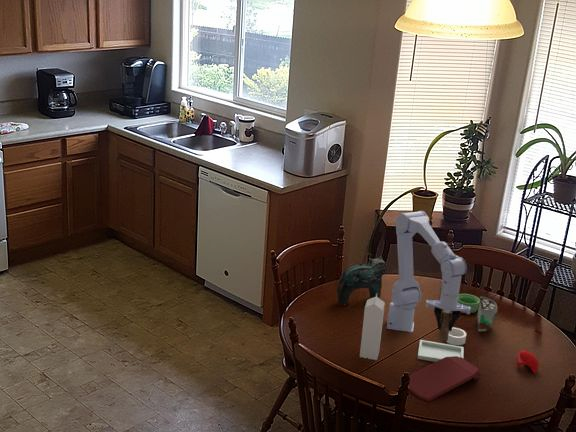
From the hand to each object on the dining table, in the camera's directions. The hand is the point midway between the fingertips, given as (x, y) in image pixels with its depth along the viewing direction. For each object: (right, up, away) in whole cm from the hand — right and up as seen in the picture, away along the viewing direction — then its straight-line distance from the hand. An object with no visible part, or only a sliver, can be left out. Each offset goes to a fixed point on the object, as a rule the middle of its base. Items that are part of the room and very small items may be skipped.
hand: (444, 328), depth 238 cm
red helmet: (+27, -13, -1) cm, 30 cm away
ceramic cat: (-25, +4, +39) cm, 46 cm away
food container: (+21, -4, +25) cm, 32 cm away
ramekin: (+17, +2, +39) cm, 43 cm away
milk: (-25, -9, +2) cm, 27 cm away
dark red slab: (-4, -16, -12) cm, 20 cm away
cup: (+7, -7, +14) cm, 17 cm away
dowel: (0, -4, +1) cm, 4 cm away
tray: (-1, -10, +3) cm, 10 cm away
